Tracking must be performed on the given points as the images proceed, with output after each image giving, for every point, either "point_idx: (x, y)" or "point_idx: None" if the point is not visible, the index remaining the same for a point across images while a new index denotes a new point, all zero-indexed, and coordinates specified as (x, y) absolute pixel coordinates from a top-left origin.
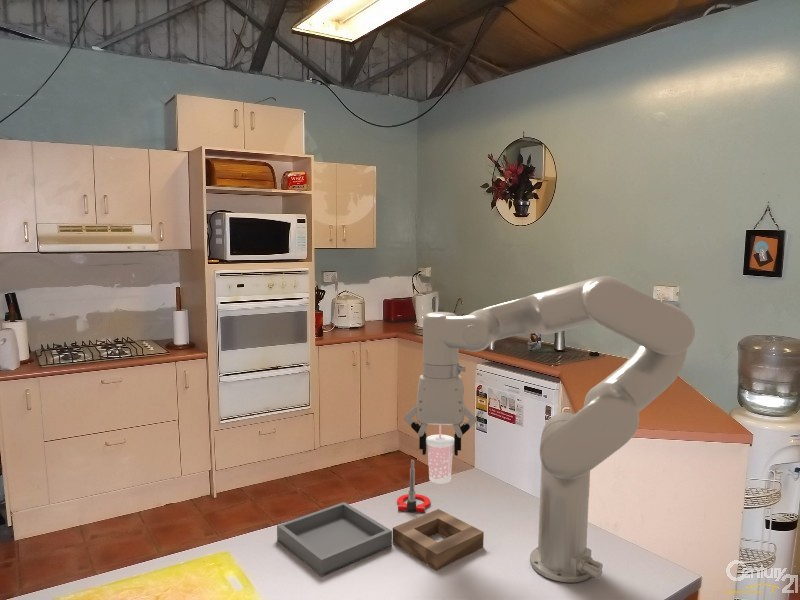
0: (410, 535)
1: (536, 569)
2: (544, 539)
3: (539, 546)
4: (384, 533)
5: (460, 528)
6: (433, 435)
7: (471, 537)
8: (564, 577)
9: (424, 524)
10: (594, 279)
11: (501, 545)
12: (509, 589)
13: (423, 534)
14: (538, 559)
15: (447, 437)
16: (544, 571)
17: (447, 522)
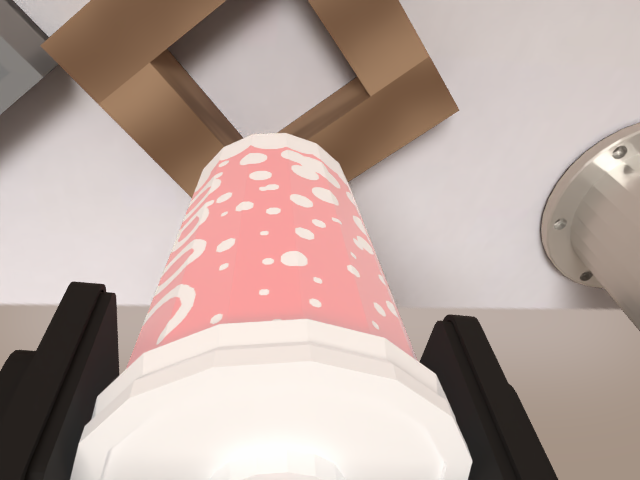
0: (137, 123)
1: (544, 238)
2: (616, 294)
3: (599, 243)
4: (11, 99)
5: (369, 74)
6: (183, 398)
7: (394, 150)
8: (590, 286)
9: (202, 19)
10: None
11: (514, 76)
12: (430, 294)
13: (196, 117)
14: (576, 211)
15: (395, 439)
16: (555, 263)
17: (321, 8)
